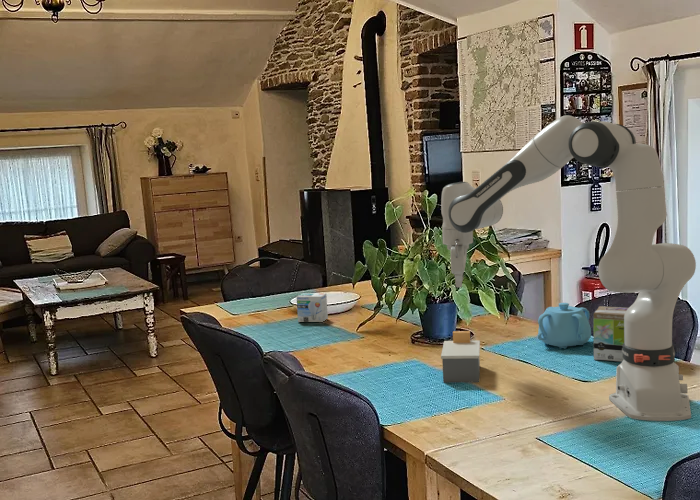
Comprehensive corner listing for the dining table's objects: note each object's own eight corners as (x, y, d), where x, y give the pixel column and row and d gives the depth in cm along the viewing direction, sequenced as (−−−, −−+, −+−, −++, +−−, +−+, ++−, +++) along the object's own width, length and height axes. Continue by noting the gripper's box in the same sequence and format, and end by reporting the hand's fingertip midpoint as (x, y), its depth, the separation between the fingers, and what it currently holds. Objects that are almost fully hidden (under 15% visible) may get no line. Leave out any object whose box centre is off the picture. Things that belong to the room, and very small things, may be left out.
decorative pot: (547, 336, 260) (546, 297, 258) (596, 340, 251) (595, 299, 250) (532, 348, 246) (531, 307, 244) (583, 352, 238) (582, 309, 236)
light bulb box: (297, 323, 304) (295, 296, 302) (303, 319, 310) (301, 292, 309) (323, 323, 301) (321, 296, 299) (328, 319, 307) (326, 292, 306)
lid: (479, 361, 213) (478, 345, 213) (441, 362, 215) (440, 345, 215) (480, 346, 230) (479, 330, 229) (444, 346, 231) (443, 331, 231)
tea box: (593, 360, 228) (592, 312, 227) (599, 352, 237) (598, 305, 235) (646, 364, 221) (646, 314, 220) (651, 355, 230) (650, 307, 228)
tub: (479, 382, 214) (478, 358, 214) (443, 382, 216) (442, 358, 215) (479, 366, 230) (478, 343, 229) (446, 366, 232) (445, 343, 231)
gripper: (467, 241, 214) (469, 290, 216) (469, 233, 234) (471, 277, 236) (444, 242, 215) (447, 291, 217) (448, 233, 235) (450, 278, 237)
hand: (459, 283), depth 227 cm, fingers open, 8 cm apart
